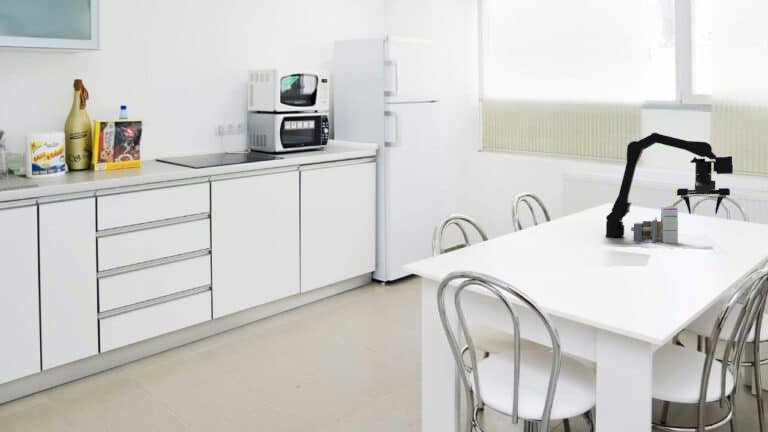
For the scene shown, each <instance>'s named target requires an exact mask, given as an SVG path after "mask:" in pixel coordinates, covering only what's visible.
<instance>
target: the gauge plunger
mask: <svg viewBox="0 0 768 432" xmlns="http://www.w3.org/2000/svg"><path fill="white" fill-rule="evenodd" d="M652 221H653V228H649V227H642V231H653V235H652V237H651V238H652V242H654V243H655V242H656V241H657V239H658V237H657V221H658V216H655V217H654V218H653V219H652ZM630 231H631V232H634V226H631V228H630Z"/></svg>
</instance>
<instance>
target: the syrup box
mask: <svg viewBox="0 0 768 432" xmlns="http://www.w3.org/2000/svg"><path fill="white" fill-rule="evenodd" d="M678 210H679V208H678V206H672V205H671V206H670V205H668V206H667V205H665V206H661V207H660V221H661V238H660V241H661V242H662V243H664V244H678V243H679V215H678V212H679V211H678Z"/></svg>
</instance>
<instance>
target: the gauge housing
mask: <svg viewBox="0 0 768 432" xmlns="http://www.w3.org/2000/svg"><path fill="white" fill-rule="evenodd" d="M633 227H634V231H633V242H643V240H644V237H650V238H652V235H653V231H642V227H649V228H653V220H643V221H642V222H634V223H633ZM658 238H660V239H661V220H659V221H658V220H657V239H658Z"/></svg>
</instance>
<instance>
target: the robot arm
mask: <svg viewBox="0 0 768 432" xmlns="http://www.w3.org/2000/svg"><path fill="white" fill-rule="evenodd" d="M655 144H660V145H664V146H668V147H672V148H675V149H680V150H684V151H687V152H689V153H691V154H693V155H696V156H697V157H701V158H697V157H696V156H694V157H693V158H692V159H691V160H690V163H691V164H695V170H694V171H695V174H694V175H695V180H694V181H695V182H694V189H689V188H685V187H684V188H678V189H676V196H680V198H681V199H683V200H684V202H685V204H686V208H687V211H688V214H690V215H691V214H692V213H691V212H692V211H691V208H692V207H691V203H690V200H691V199H690V196H689V195H718V196H717V197H716V198H717V199H716V205H715V209H714V211H715V215H717V214H718V211H719V208H720V206H721V204H722V201H723V199H726V198H727V196H731V189H730V188H729V187H726V188H724V187H721V188H719V187H718V189H716V180H712V169H713V172H716V175H733V172H734V171H733V169H734V168H733V166H734V165H733V156H731V155H730V156H717V154H715V153H714V152H713V151H712V150H713V149H712V145H711V144H710V143H709V142H706V141H692V140H684V139H682V138H681V139H680V138H679V137H678V138H677V137H673V136H668V135H665V134H661V133H659V132H652V133H651V134H649V135H647V136H645V137H643V138H641V139H639V140H637V141H636V140H633V141H631V142H629V143H628V144H627V146H626V147H627V148H626V149H627V150H626V166H625V167H624V168H625V169H624V172H623V175H622V176H623V177H622V180H621V185H620V189H619V193H618V196H617V197H616V199H615V202H614V204H613V206H612V207H611V212H610V213H608V215H606V217H605V218H606V225H605V227H606V228H605V229H606V230H605V231H606V232H605V237H623V236H624V235H625V224H624V221H623V219H624V217H626V216H627V215H628V214H629V213H631V210H630V208H631V206H632V202H630V201H629V197H630V196H629V195H630V192H631V188H632V184H633V180H634V177H635V171H636V167H637V165H638V163H639V160H640V158H641V157H642V154H643V152H644V150H646V149H648V148H649V147H651V146H653V145H655ZM706 158H708V159H709V160H706ZM712 163H713V166H712ZM712 167H713V168H712Z"/></svg>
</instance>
